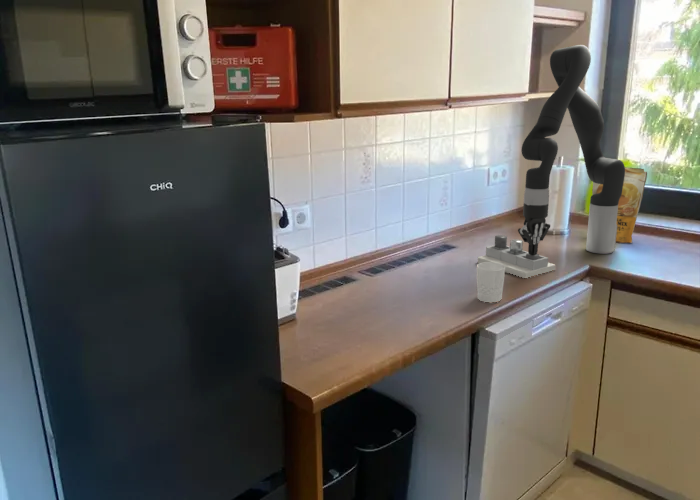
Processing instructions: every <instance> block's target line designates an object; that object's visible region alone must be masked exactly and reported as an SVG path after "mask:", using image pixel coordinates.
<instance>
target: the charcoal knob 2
mask: <svg viewBox="0 0 700 500" xmlns="http://www.w3.org/2000/svg"><path fill="white" fill-rule="evenodd" d="M539 255H540V254H539V253H537V254H536V255H530V254H529V253H527V254H526V258H527V259H530V260H537V259H539Z"/></svg>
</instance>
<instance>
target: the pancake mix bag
mask: <svg viewBox="0 0 700 500" xmlns="http://www.w3.org/2000/svg"><path fill="white" fill-rule="evenodd" d="M647 178H648V171H645V169H644V168H641V167H639V168H637V167H626V166H625V177H624V183H623V189H622V194H621V197H620V199H619V203H618V213H617V222H616V224H617V234H616V243H619V244H620V243H621V244H626V243H627V244H632V243H633V236H632V235H633V233H634V230H635V226H636V222H637V217H638V215H639V212H640V208H641V204H642V201H643V197H644V196H643V195H644V191H645V186H646V183H647ZM602 188H603V184H597V183H594V182H592V190H591V191H592V193H591V194H592V195H593V194H597V193H600V192H601V191H602ZM592 195H591V196H592Z"/></svg>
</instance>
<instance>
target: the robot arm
mask: <svg viewBox="0 0 700 500" xmlns="http://www.w3.org/2000/svg"><path fill="white" fill-rule="evenodd" d="M591 56H592V55H591V52H590V50H589V48H588V47H587V46H586V45H584V44H577V45H572V46H567V47H562V48H557V49H555V50H554V51H552V53H551V54H550V58H549V65H550V66H549V67H550V70H551V73H552V76H553V78H554V80H555V82H556V84H557V89H555V91H554V92H552V94H551V95H550V96H549V97H548V99H547V100H546V101H545V102H544V104H543V106H542V107H541V110H540V113H539V116H538V119H537V121H536V123H535V125H534V126H533V127H532V129H531V130H530V132H529V133H528V134H527V136H525V137H526V138H525V139H524V140H523V142H522V144H521V155H522V157H523V158H524V159H525V160H528V161H537V162H541V163H540V165H539V166H538V167H532V168H529V169H528V170H527V171H526V175H525V186H524V187H525V189H524V194H523V206H522V207H523V209H522V216H523V217H524V222H523V226H522V227H521V228H520V227H519V228H518V229H517V232H518V234H519V235H520V237H521V240H522V241H523V243H528V248H527V252H528V253H529V254H530V255H536V254H538V250H539V244H540V242H543V240H544V239H545V238H546V236H547V234H548V232H549V230H550V228H551V224H550V223H547V221H546V218H547V217H548V216H549V215H548V214H549V203H550V178H551V172H552V168H553V165H554V163H555V160H556V158H557V155H558V150H559V145H558V143H557V141H556V139H554V138H552V136H555V135H556V134H558V132H559V130H560V128H561V126H562V123H563V120H564V118H565V114H566V111H568V112H569V116H570V117H569V118H570V119H571V122H572V123H571V124H572V126H573V129H574V132H575V133H576V136H577V140H578V142H579V146H580V148H581V151H582V156H583V160H584V165H585V168H586V173H587V177H588V178H589V180H590V181H591V182H592V183H593V182H594V183H597V184H603V188H602V191H601V192H600V193H597V194H593V195H590V200H589V211H588V213H589V214H588V223H587V224H588V225H587V235H586V244H585V250H586V251H588V252H589V253H593V254H601V255H603V254H611V253H614V251H615V249H616V243H617V242H616V234H617V224H616V222H617V213H618V203H619V199H620V197H621V194H622V189H623V183H624V177H625V167H626V166H625V164H624V162H623V161H622V160H620V159H618V158H610V157H605V156H604V154H603V151H602V149H601V145H600V144H601V139H602V135H603V132H604V130H605V121H604V118H603V115H602V111H601V108H600V107H599V105H598V103H597V102H596V101H595V99H594V98H592V97H591V96H590V95H589V94H588V93H587V92H586V91H585V90H583V89H582V88H581V87H580V86H581V83H582V82H583V80H584V78H585V77H586V75H587V72H588V71H589V69H590V65H591V60H592V57H591Z"/></svg>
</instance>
